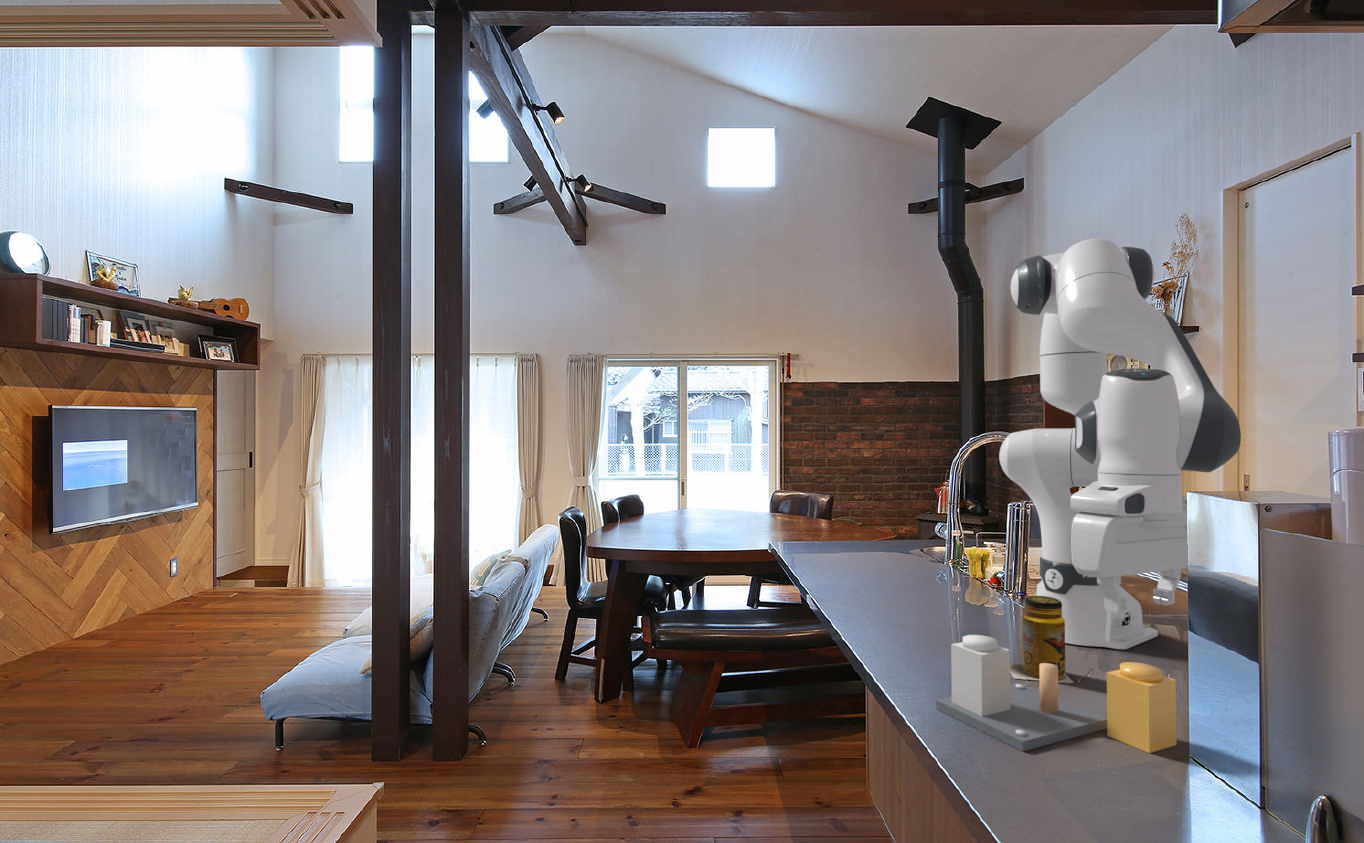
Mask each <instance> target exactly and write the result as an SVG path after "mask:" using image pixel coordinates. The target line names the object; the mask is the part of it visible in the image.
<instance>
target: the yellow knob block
mask: <svg viewBox="0 0 1364 843" xmlns="http://www.w3.org/2000/svg"><path fill="white" fill-rule="evenodd" d="M1176 681H1177V680H1176V679H1174V678H1171V677H1169V676H1166V675H1163V670H1162V669H1160V668H1159V667H1157V666H1154V665H1152V664H1148V663H1143V662H1134V661H1133V662H1132V661H1126V662H1120V664H1119V669H1117V670H1112V671H1111V670H1110V671H1108V672H1106V717H1107V730H1106V731H1107V732H1106V734H1107V735H1106V736H1107V737H1110V738H1112V739H1114V740H1117V741H1119V742H1122V743H1124V744H1126V745H1129V746H1131V747H1132V748H1133V747H1134V748H1136V749H1139V750H1140V751H1143V752H1145V753H1148V754H1152V753H1155V752H1158V751H1162V750H1165V749H1168V748H1172V747H1174V746H1177V694H1176V693H1177V690H1176V689H1177V688H1176V687H1177V686H1176V685H1177V684H1176V683H1177V682H1176Z"/></svg>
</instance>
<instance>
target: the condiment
mask: <svg viewBox="0 0 1364 843" xmlns="http://www.w3.org/2000/svg"><path fill="white" fill-rule="evenodd" d="M1023 609H1024V610H1025V611H1024V612H1023V614H1022V616H1021V618H1022V619H1021V620H1022V621H1021V622H1022V623H1021V624H1022V626H1021V627H1022V632H1021V633H1022V642H1021V643H1022V663H1014V662H1010V676H1012V678H1013V679H1015V680H1031V681H1038V682H1040V673H1039V664H1040V663H1050V664H1054V665H1056V666H1058V684H1060V683H1061V684H1063V683H1064V684H1065V683H1066V684H1074V683H1075V682H1074V681H1073V680H1072V679H1071V678H1070V677H1069V676H1068V675H1067V673H1066V643H1065V620H1064V618H1063V617H1062V603H1061V601H1060V600H1059V599H1056V598H1052V597H1047V596H1036V595H1029V596H1027V597H1025V599H1024V608H1023Z"/></svg>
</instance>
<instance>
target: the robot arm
mask: <svg viewBox="0 0 1364 843" xmlns="http://www.w3.org/2000/svg"><path fill="white" fill-rule="evenodd" d="M1152 261H1153V260H1152V257H1151V255H1150V254H1149V253H1148V252H1147V251H1146V250H1145V249H1144V248H1141V247H1140V248H1139V247H1135V246H1134V247H1133V246H1122V247H1119V246H1118V245H1116V244H1115V243H1114V242H1112V241H1110V240H1107V239H1102V238H1090V239H1089V238H1088V239H1084V240H1081V241H1079V242H1076V243H1074V244H1073V245H1071V246H1070V247H1069V248H1067V249H1066V250H1064V252H1059V253H1053V254H1047V255H1045V256H1044V255H1042V256H1041V255H1040V254H1038V255H1033V256H1030V257H1028V258H1025V259H1023V260H1021V261H1020V262H1019V263H1018V264H1017V265H1016V266H1015V270H1014V272H1013V274H1012V278H1011V282H1010V294H1011V297H1012V300H1013V302H1014V304H1015V308H1016V309H1017V310H1019V312H1021V313H1023V314H1027V315H1028V314H1029V315H1037V316H1040V314H1044V315H1043V319H1042V325H1041V330H1040V331H1041V332H1040V338H1039V339H1040V343H1039V379H1040V380H1039V383H1040V384H1039V385H1040V386H1039V390H1040V394H1041V397H1042V399H1044V401H1045V402H1047V403H1048V404H1049V405H1051V406H1053V407H1055V408H1057V409H1059V410H1062V411H1064V412H1066V413H1070V414H1071V415H1073V416H1074V427H1072V428H1070V427H1069V428H1033V429H1030V428H1029V429H1025V430H1020V431H1015V432H1014V431H1013V432H1011V433H1009V435H1007V436H1006V437H1005V439H1004V440H1003V441H1002V443H1001V446H1000V448H999V455H998V456H999V457H998V460H999V464H1000V466H1001V469H1002V471H1003V472H1004V474H1005V475H1006V476H1007V478H1009V479H1010V480H1011V481H1012V482H1014V483H1015V484H1017V485H1018V486H1019V487H1020V488H1021V489H1022V490H1023V491H1024V492H1025V493H1026V494H1027V496H1028V497H1029V499H1030V500H1031V501H1032V503H1033V505H1034V507H1035V509H1036V512H1037V515H1038V519H1039V524H1040V525H1039V526H1040V527H1039V528H1040V537H1041V557H1040V558H1039V563H1038V568H1039V576H1040V578H1041V580H1040V582H1038V583H1037V586H1036V587H1037V588H1036V594H1035V596H1047V597H1052V598H1056V599H1059V600H1060V601H1061V603H1062V617H1063V618H1064V620H1065V644H1070V645H1077V646H1085V647H1097V648H1099V647H1102V648H1109V649H1115V650H1128V649H1130V648H1132V647H1133V648H1134V647H1135V646H1138V645H1140V644H1142V643H1145V642H1148V641H1149V640H1152V639H1154V638H1156V637H1158V636H1159V632H1158V630H1157V629H1155V628H1152V627H1151V626H1148V625H1145V624H1143V611H1142V607H1141V606H1142V605H1141V603H1140V602H1139V601H1138V600H1137V599H1135V597H1134V596H1132V595H1131V594H1130V593H1128V592H1127V591H1126V590H1125V589H1124V587H1122V586H1121V585H1122V577H1123V576H1131V575H1140V574H1146V573H1148V574H1149V573H1156V572H1157V573H1156V574H1157V575H1159V578H1158V582H1157V585H1156V586H1157V587H1156V588H1153V589H1152V594H1153V598H1152V601H1153V602H1154V604H1157V605H1162V606H1169V605H1170V606H1171V605H1174V604H1175V601H1176V600H1175V598H1176V597H1175V591H1176V590H1177V588H1178V585H1179V582H1180V581H1181V578H1182V569H1188V545H1187V500H1188V499H1187V498H1186V496H1185V495H1183V475H1182V474H1183V472H1182V471H1188V472H1198V473H1212V472H1213V471H1216V470H1218V469H1219V468H1220V467H1222V466H1224V465H1225V464H1226V463H1227V462H1230V460H1232V459H1233V458H1234V457H1235V455H1236V454H1238V452H1239V450H1240V447H1241V440H1242V435H1241V432H1242V431H1241V427H1240V426H1241V425H1240V423H1239V420H1238V417H1237V414H1236V413H1235V411H1234V410H1233V408H1232V407H1231V406H1230V405H1229V403H1228V402H1227V401H1226V400H1225V399H1224V397H1223V396H1222V395H1221V394H1220V393H1219V392H1218V390H1217V389H1216V388H1215V386H1214V384H1213V382H1212V380H1211V378H1210V377H1209V375H1208V374H1207V372H1206V370H1205V368H1204V366H1203V365H1202V363H1201V361H1200V359H1199V358H1198V356H1197V354H1196V353H1195V350H1194V348H1193V347H1192V345H1191V343H1190V342H1189V340H1188V338H1187V336H1186V335H1185V333H1184V332H1183V330H1182V329H1181V326H1180V325H1179V324H1178V322H1177V321H1176V320H1175V319H1174V317H1173V316H1171V315H1170V314H1168V313H1165V312H1163V311H1160V310H1159V309H1157V308H1156V307H1154V306H1153V305H1152V304H1150V303H1149V302H1148V301H1147V300H1146V299H1147V298H1149V296H1150V294H1151V291H1152V288H1153V286H1154V282H1155V277H1156V276H1155V275H1156V274H1155V266H1154V263H1153V262H1152ZM1108 354H1109V355H1116V356H1121V357H1123V358H1129V359H1132V360H1134V361H1135V360H1136V361H1138V362H1140V363H1144V364H1145V365H1148V366H1150V367H1151V368H1122V369H1115V370H1114V369H1113V370H1110V371H1109V372H1108ZM1075 487H1081V489H1080V490H1078V491H1077V492H1074V493H1071V490H1070V489H1071V488H1075ZM1082 487H1084V488H1082Z"/></svg>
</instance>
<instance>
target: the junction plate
mask: <svg viewBox="0 0 1364 843" xmlns="http://www.w3.org/2000/svg"><path fill="white" fill-rule="evenodd" d="M950 647H951V648H950V652H951V653H950V654H951V655H950V656H951V658H950V659H951V660H950V661H951V664H950V665H951V668H950V670H951V677H950V678H951V679H950V680H951V696H950V697H945V698H940V699H936V701H935V702H936V704H935V705H936V708H935V709H936V710H938V711H940V712H942V713H944V714H946V715H949V716H950V717H952V718H955V719H957V721H960V722H962V723H965V724H967V725H968V726H970V727H972V728H975V729H977V730H978V731H981V732H983V733H984V734H986V735H988V736H991V737H992V738H994V739H996V740H998V741H1001V742H1003V743H1005V744H1007V745H1009V746H1011V747H1013V748H1015V749H1017V750H1019V751H1021V752H1026V751H1029V750H1033V749H1036V748H1040V747H1045V746H1048V745H1051V744H1056V743H1059V742H1063V741H1066V740H1070V739H1074V738H1077V737H1081V736H1085V735H1088V734H1092V733H1095V732H1099V731H1103V730H1106V729H1107V716H1106V715H1102V714H1099V713H1097V712H1094V711H1093V710H1090V709H1087V708H1084V707H1082V706H1079V705H1077V704H1074V703H1073V702H1072V703H1071V702H1070V701H1069V702H1068V701H1066V700H1064V699H1061V698H1059V682H1058V666H1056V665H1054V664H1050V663H1040V664H1039V673H1040V681H1039V690H1038V689H1036V688H1033V687H1031V686H1028V685H1026V684H1023V683H1020V682H1016V683H1011V673H1010V663H1011V650H1010V649H1008V648H1005V647H1002V646H1000V645H999V642H998V639H996V638H995V637H991V636H987V635H980V634H967V635H964V636H962V642H960V641H959V642H957V643H956V642H955V643H951V644H950Z"/></svg>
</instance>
